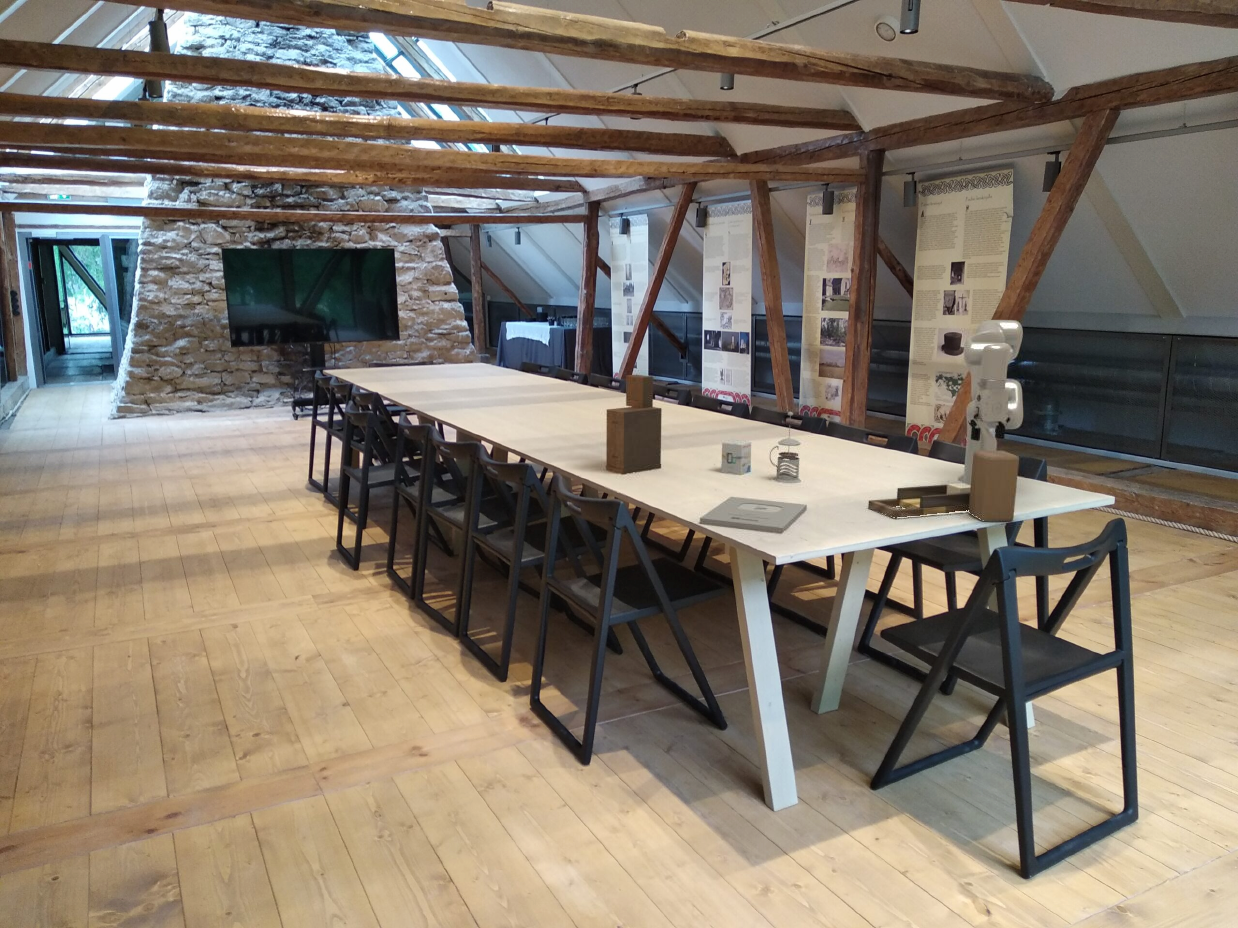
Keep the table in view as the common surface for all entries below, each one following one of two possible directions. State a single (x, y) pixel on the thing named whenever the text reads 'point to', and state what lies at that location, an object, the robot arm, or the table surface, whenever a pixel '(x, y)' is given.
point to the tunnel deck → (922, 501)
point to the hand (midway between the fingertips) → (987, 439)
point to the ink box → (736, 457)
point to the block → (993, 485)
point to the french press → (787, 461)
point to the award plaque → (754, 514)
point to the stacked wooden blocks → (634, 430)
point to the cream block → (958, 488)
